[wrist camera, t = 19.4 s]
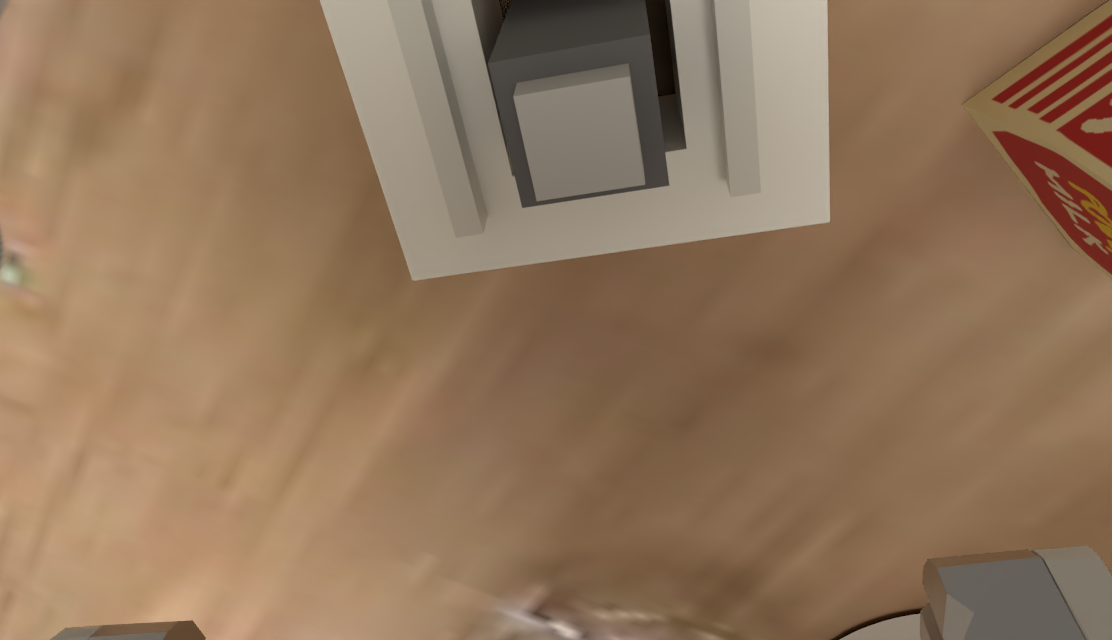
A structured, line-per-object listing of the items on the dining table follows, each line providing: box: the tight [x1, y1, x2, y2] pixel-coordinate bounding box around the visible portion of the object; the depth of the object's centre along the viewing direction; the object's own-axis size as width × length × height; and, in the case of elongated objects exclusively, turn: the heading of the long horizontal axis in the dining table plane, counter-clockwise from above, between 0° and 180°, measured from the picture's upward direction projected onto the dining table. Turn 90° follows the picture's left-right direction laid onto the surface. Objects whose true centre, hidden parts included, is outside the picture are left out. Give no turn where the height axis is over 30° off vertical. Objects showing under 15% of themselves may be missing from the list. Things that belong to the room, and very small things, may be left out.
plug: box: [488, 0, 669, 208], centre depth 25 cm, size 4×4×10 cm
